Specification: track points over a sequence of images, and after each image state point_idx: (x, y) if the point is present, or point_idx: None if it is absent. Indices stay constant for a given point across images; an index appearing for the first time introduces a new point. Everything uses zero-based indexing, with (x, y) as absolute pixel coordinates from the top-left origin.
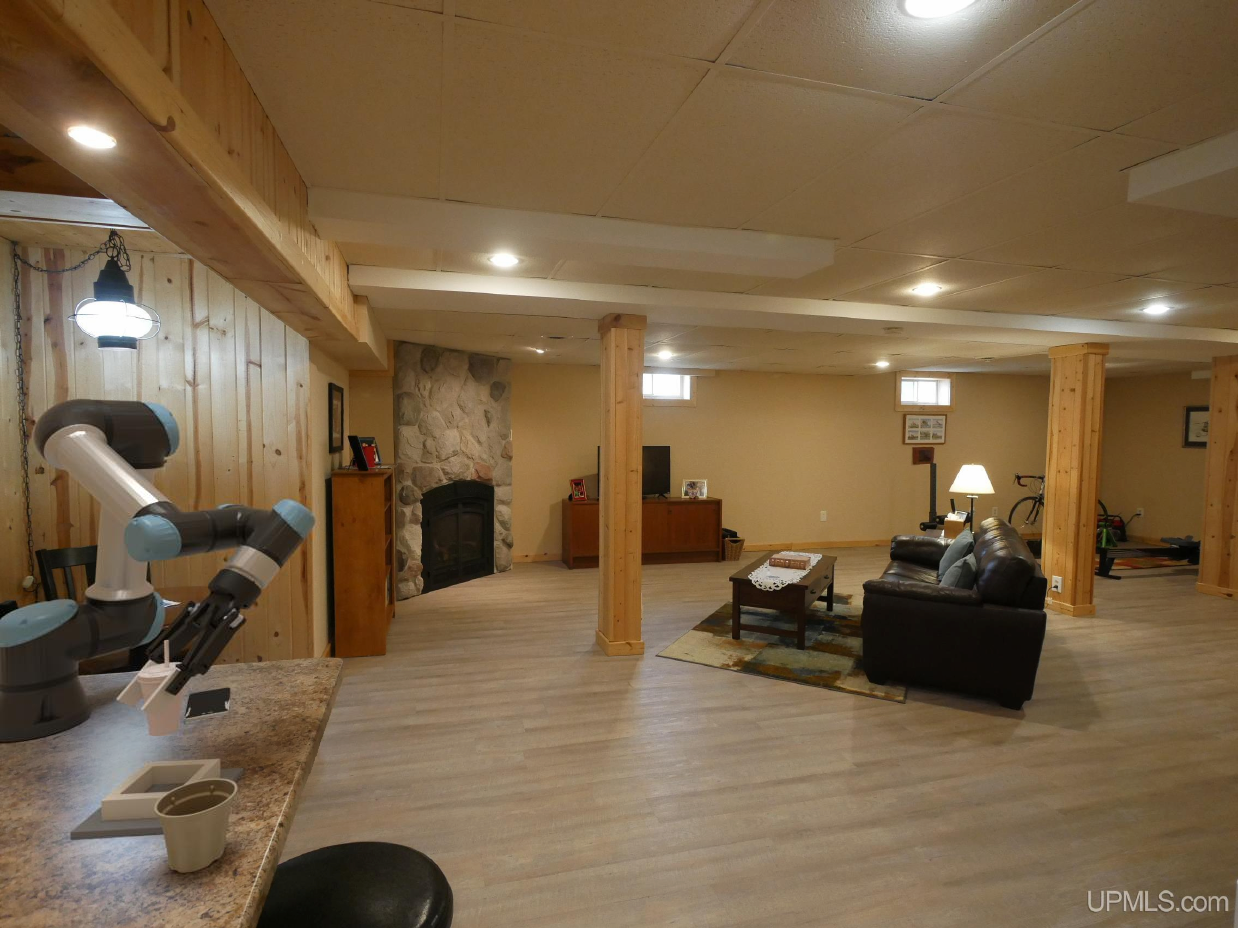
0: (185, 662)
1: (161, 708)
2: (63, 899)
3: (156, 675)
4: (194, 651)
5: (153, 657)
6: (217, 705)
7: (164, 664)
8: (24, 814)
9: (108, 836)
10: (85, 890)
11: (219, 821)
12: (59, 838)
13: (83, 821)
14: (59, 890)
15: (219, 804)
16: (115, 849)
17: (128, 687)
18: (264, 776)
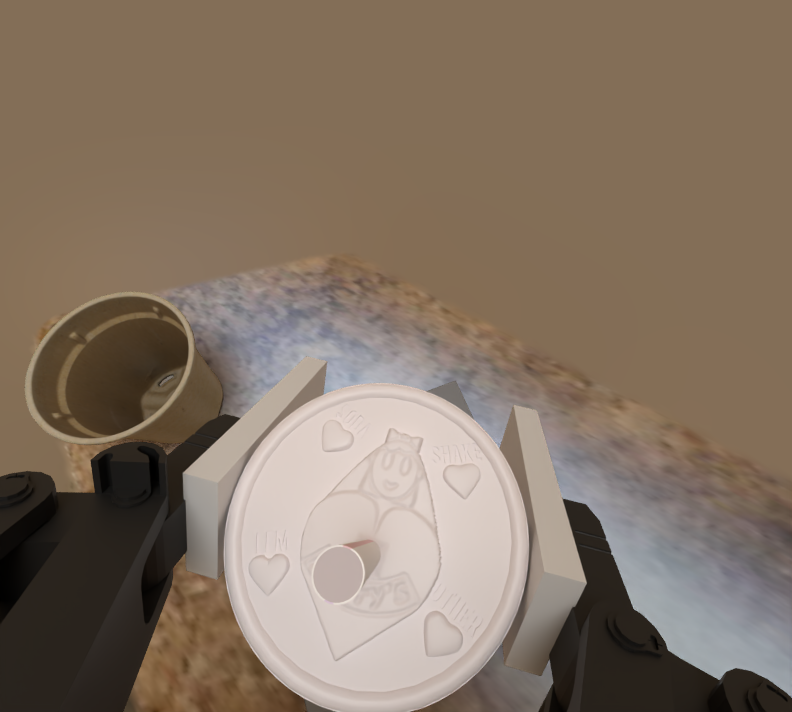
0: (111, 519)
1: None
2: (312, 287)
3: (321, 425)
4: (5, 627)
5: (589, 621)
6: None
7: (478, 634)
8: (628, 417)
9: None
10: (299, 306)
11: (79, 376)
12: (475, 381)
13: (469, 411)
14: (336, 297)
15: (37, 351)
16: (347, 385)
17: (526, 440)
18: None
